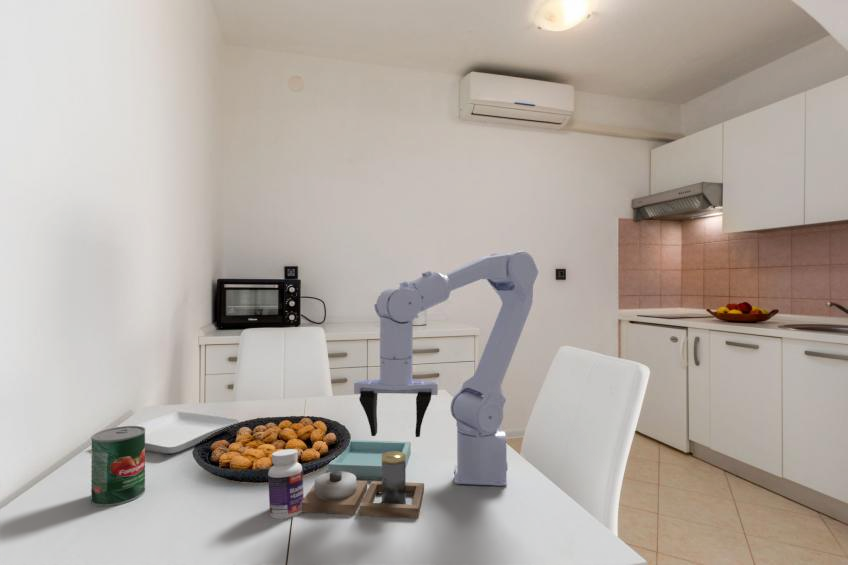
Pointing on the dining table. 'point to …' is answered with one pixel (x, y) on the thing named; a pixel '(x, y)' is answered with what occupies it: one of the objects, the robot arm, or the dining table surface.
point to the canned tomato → (118, 465)
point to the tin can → (394, 477)
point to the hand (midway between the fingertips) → (396, 434)
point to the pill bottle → (285, 485)
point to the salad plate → (181, 430)
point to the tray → (367, 457)
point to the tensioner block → (357, 497)
